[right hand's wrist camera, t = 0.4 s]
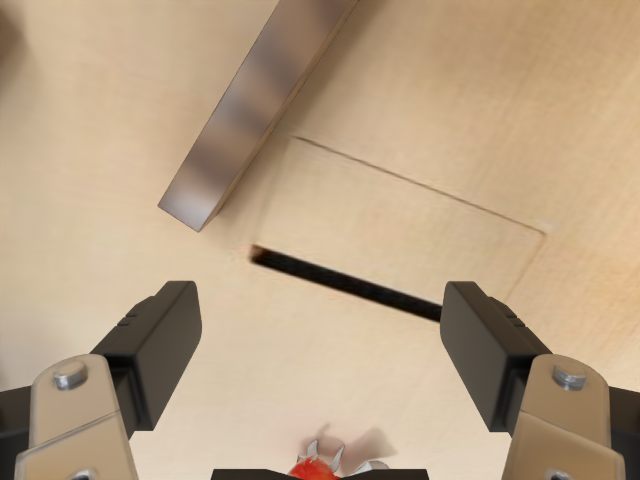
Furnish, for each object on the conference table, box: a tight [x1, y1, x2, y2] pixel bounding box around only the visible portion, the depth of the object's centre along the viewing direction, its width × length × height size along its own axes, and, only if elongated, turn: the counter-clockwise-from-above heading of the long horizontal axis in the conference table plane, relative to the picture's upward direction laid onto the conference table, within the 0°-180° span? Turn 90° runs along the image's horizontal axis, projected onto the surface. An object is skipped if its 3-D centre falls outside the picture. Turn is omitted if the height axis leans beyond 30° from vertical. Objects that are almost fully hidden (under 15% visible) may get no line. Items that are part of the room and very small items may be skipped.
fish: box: [287, 440, 389, 480], centre depth 49 cm, size 11×16×10 cm
